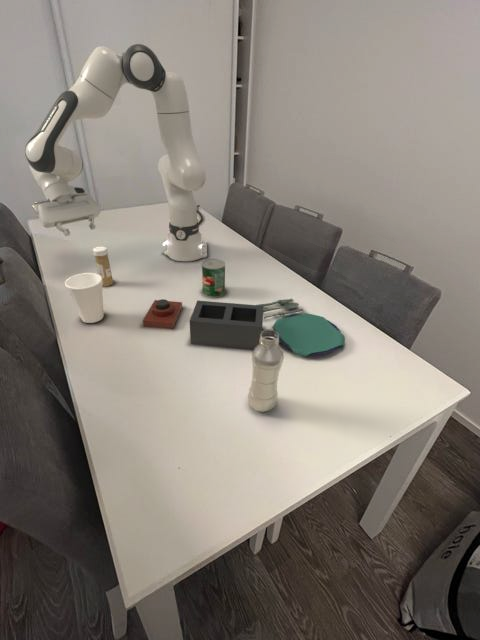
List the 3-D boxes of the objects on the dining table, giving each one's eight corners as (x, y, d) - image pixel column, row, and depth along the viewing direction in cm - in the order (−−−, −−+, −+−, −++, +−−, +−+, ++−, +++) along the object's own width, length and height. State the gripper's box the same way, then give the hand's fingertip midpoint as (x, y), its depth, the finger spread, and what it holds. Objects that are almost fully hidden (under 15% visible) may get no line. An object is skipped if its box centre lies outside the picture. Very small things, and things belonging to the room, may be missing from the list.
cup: (116, 313, 106) (109, 276, 98) (95, 330, 98) (86, 291, 91) (90, 306, 108) (81, 270, 101) (67, 323, 100) (56, 284, 93)
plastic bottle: (245, 394, 80) (250, 325, 68) (274, 393, 80) (283, 325, 69) (248, 416, 74) (254, 345, 63) (278, 415, 75) (289, 344, 64)
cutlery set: (295, 366, 88) (296, 360, 87) (248, 309, 111) (248, 303, 110) (355, 349, 95) (357, 343, 94) (299, 298, 118) (300, 293, 117)
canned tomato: (228, 289, 121) (229, 261, 115) (218, 299, 115) (218, 270, 109) (209, 284, 124) (209, 257, 118) (198, 294, 118) (197, 265, 112)
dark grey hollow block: (198, 322, 103) (197, 300, 99) (261, 328, 102) (263, 305, 98) (190, 344, 94) (189, 320, 90) (260, 350, 93) (262, 327, 89)
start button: (158, 303, 105) (158, 298, 104) (170, 304, 105) (169, 299, 104) (155, 309, 102) (154, 304, 101) (167, 310, 102) (166, 305, 101)
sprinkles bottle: (115, 284, 121) (108, 249, 114) (102, 287, 119) (94, 252, 111) (111, 279, 124) (104, 245, 117) (98, 282, 122) (91, 247, 114)
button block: (155, 305, 111) (154, 295, 108) (182, 307, 110) (181, 297, 108) (143, 326, 101) (141, 315, 98) (173, 329, 100) (172, 317, 98)
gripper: (30, 197, 109) (52, 234, 109) (89, 187, 122) (109, 220, 122) (29, 208, 114) (50, 243, 114) (86, 197, 127) (105, 229, 127)
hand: (81, 231), depth 118 cm, fingers open, 8 cm apart
